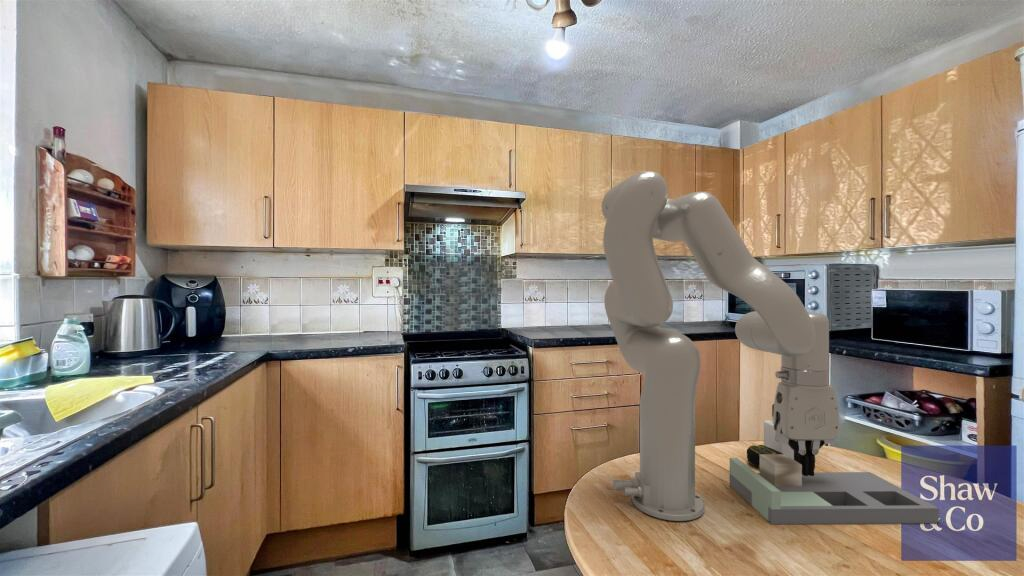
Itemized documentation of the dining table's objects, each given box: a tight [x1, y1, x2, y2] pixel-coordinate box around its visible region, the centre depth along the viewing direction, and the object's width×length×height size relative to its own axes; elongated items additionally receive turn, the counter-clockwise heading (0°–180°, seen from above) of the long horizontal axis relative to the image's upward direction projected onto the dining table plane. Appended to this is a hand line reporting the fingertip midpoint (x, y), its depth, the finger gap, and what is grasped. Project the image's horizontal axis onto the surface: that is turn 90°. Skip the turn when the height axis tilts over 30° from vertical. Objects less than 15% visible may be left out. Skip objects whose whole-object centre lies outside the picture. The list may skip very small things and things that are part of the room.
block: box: [759, 454, 802, 486], centre depth 84 cm, size 5×5×4 cm
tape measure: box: [746, 444, 783, 468], centre depth 96 cm, size 7×7×4 cm
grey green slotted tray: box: [729, 457, 940, 525], centre depth 80 cm, size 28×14×6 cm, turn 90°
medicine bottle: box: [763, 403, 794, 460], centre depth 102 cm, size 7×7×12 cm
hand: (804, 472), depth 84 cm, fingers closed
